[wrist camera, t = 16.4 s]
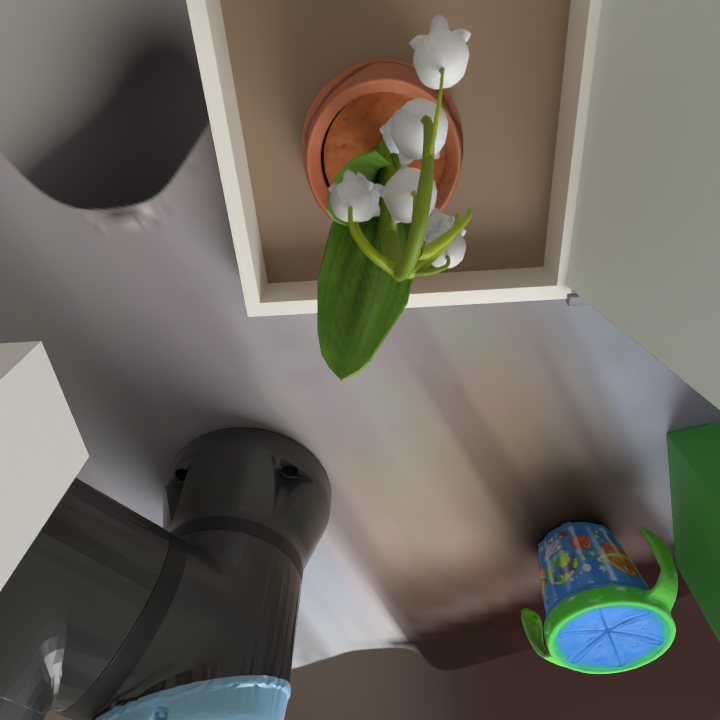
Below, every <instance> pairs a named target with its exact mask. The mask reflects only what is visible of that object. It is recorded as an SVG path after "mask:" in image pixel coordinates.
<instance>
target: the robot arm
mask: <svg viewBox="0 0 720 720" xmlns="http://www.w3.org/2000/svg"><path fill="white" fill-rule="evenodd" d="M88 457H89V455H88V452H87V450H86V447H85V445H84V443H83V440H82V438H81V435H80V433H79V430H78V428H77V426H76V423H75V421H74V418H73V416H72V414H71V411H70V409H69V406H68V404H67V402H66V399H65V397H64V394H63V392H62V390H61V387H60V385H59V382H58V380H57V378H56V375H55V373H54V370H53V368H52V366H51V363H50V361H49V358H48V356H47V353H46V351H45V349H44V346H43V344H42V341H34V342H17V343H1V344H0V720H43V719H44V717H45V716H46V714H47V713H48V712H49V711H52V712H55V713H57V714H60V715H62V716H64V717H67V718H69V719H72V720H284V715H285V711H286V706H287V701H288V699H289V697H290V694H291V687H290V676H291V668H292V659H293V650H294V642H295V634H296V626H297V618H298V609H299V601H300V593H301V583H302V576H303V570H304V568H305V566H306V564H307V563H308V561H309V559H310V557H311V555H312V553H313V551H314V550H315V548H316V546H317V544H318V542H319V540H320V538H321V537H322V535H323V533H324V531H325V529H326V526H327V523H328V520H329V515H330V506H331V486H330V482H329V479H328V476H327V474H326V472H325V470H324V468H323V467H322V465H321V464H320V463H319V461H318V460H317V459H316V458H315V457H314V456H313V455H312V454H311V453H310V452H309V451H308V450H306V449H305V448H304V447H302V446H301V445H299V444H298V443H296V442H294V441H292V440H290V439H288V438H286V437H284V436H281V435H279V434H276V433H273V432H269V431H265V430H259V429H252V428H230V429H223V430H218V431H214V432H211V433H208V434H206V435H203V436H201V437H199V438H197V439H196V440H194V441H192V442H191V443H190V444H188V445H187V446H186V447H185V448H184V449H183V450H182V451H181V452H180V454H179V455H178V456H177V458H176V460H175V462H174V464H173V466H172V468H171V470H170V473H169V475H168V477H167V480H166V483H165V487H164V493H163V528H162V527H160V526H158V525H157V524H155V523H153V522H151V521H150V520H148V519H146V518H145V517H143V516H141V515H139V514H138V513H136V512H134V511H133V510H131V509H129V508H127V507H126V506H124V505H122V504H120V503H119V502H117V501H115V500H114V499H112V498H110V497H108V496H107V495H105V494H103V493H102V492H100V491H98V490H96V489H95V488H93V487H91V486H90V485H88V484H86V483H84V482H83V481H81V480H79V479H78V478H76V476H77V474H78V473H79V471H80V470H81V468H82V467H83V465H84V464H85V462H86V461H87V459H88Z"/></svg>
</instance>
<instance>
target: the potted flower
mask: <svg viewBox="0 0 720 720" xmlns="http://www.w3.org/2000/svg"><path fill="white" fill-rule="evenodd" d="M470 35H471V33H470V32H469V31H467V30H466V29H462V28H460V29H457V30H454V31H453V32H452V31H450V28H449V25H448V22H447V20H446V18H445V17H444V16H442V15H440V14H438V15H437V16H436V17H434V18H433V20H432V22H431V26H430V31H429V34H428V35H418V36H416V37H414V38H413V39H412V40H411V42H410V45H411V47H412V48H413V49H414V50H415V52H414V55H413V64H411V63H409V62H405V61H401V60H397V59H383V58H381V59H373V60H367V61H363V62H360V63H357V64H354V65H352V66H350V67H348V68H346V69H344V70H342V71H341V72H339V73H338V74H337V75H335V76H334V77H333V78H331V79H330V80H329V81H328V82H327V83H326V84H325V85H324V86H323V87H322V89H321V90H320V91H319V93H318V94H317V96H316V97H315V99H314V100H313V102H312V104H311V106H310V108H309V111H308V113H307V116H306V119H305V122H304V126H303V132H302V159H303V165H304V170H305V174H306V177H307V180H308V183H309V186H310V189H311V191H312V194H313V196H314V198H315V200H316V202H317V203H318V205H319V206H320V207H321V209H322V210H323V212H324V213H325V214H326V215H327V216H328V217H329V218H330V219H331V220H332V221H334V222H333V223H332V224H331V228H330V232H329V236H328V240H327V243H326V247H325V251H324V255H323V259H322V262H321V266H320V270H319V274H318V278H317V308H318V337H319V343H320V348H321V354H322V356H323V358H324V359H325V361H326V363H327V364H328V366H329V368H330V369H331V370H332V371H333V372H334V373H335V374H336V375H337V376H338V377H339V378H340V379H341V380H344V379H346V378H348V377H350V376H352V375H354V374H357V373H359V372H360V371H361V370H362V369H363V368H364V367H365V366H366V365H367V364H368V363H369V362H370V361H371V359H372V358H373V356H374V354H375V353H376V351H377V349H378V348H379V346H380V345H381V343H382V342H383V340H384V339H385V337H386V336H387V334H388V332H389V331H390V329H391V328H392V326H393V325H394V323H395V322H396V320H397V319H398V317H399V316H400V314H401V313H402V311H403V310H404V308H405V307H406V305H407V304H408V299H409V295H410V290H411V286H412V282H413V278H414V277H416V276H427V275H433V274H436V273H439V272H441V271H443V270H445V269H447V268H453V267H455V266H456V265H458V264H459V263H460V262H461V261H462V260H463V257H464V254H465V251H466V242H465V240H464V238H463V236H464V235H465V233H466V230H465V229H463V228H464V227H465V226H466V224H467V223H468V222H469V220H470V219H471V216H472V213H473V212H472V210H471V209H470V208H468V210H467V214H466V216H465V217H464V218H463V219H462V220H460V218H459V213H456V214H455V217H453V216H448V215H446V214H444V213H441V211H442V210H443V209H444V208H445V206H446V205H447V203H448V202H449V200H450V199H451V197H452V195H453V193H454V191H455V189H456V186H457V183H458V180H459V176H460V171H461V166H462V159H463V131H462V124H461V120H460V117H459V114H458V110H457V108H456V106H455V104H454V102H453V100H452V98H451V96H450V95H449V93H448V92H447V91H446V89H445V88H449V87H452V86H453V85H455V84H456V83H458V82H459V81H460V80H461V78H462V77H463V76H464V74H465V70H466V67H467V63H468V59H469V50H468V46H467V44H466V42H467V41H468V40H469V38H470ZM424 240H425V241H426V243H425V246H423V241H424ZM420 252H421V255H420ZM431 264H432V265H433V266H434V267H437V268H431V269H426V268H427V267H429V266H430V265H431Z"/></svg>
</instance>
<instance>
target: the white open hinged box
mask: <svg viewBox="0 0 720 720" xmlns="http://www.w3.org/2000/svg"><path fill="white" fill-rule="evenodd" d="M186 2H187V8H188V13H189V18H190V23H191V28H192V33H193V38H194V43H195V48H196V54H197V59H198V64H199V69H200V73H201V79H202V84H203V89H204V95H205V99H206V104H207V110H208V115H209V120H210V125H211V130H212V135H213V140H214V146H215V151H216V156H217V161H218V166H219V171H220V176H221V181H222V186H223V192H224V197H225V202H226V207H227V212H228V217H229V222H230V227H231V232H232V238H233V243H234V248H235V253H236V258H237V263H238V268H239V273H240V278H241V284H242V289H243V294H244V299H245V304H246V309H247V314H248V317H255V316H273V315H290V314H308V313H318V308H317V278H318V274H319V270H320V266H321V262H322V259H323V255H324V251H325V247H326V243H327V240H328V236H329V232H330V228H331V224H332V223H333V222H334V221H332V220H331V219H330V218H329V217H328V216H327V215H326V214H325V213H324V212H323V210H322V209H321V207H320V206H319V205H318V203H317V202H316V200H315V198H314V196H313V194H312V191H311V189H310V186H309V183H308V180H307V177H306V174H305V170H304V165H303V159H302V132H303V126H304V122H305V119H306V116H307V113H308V111H309V108H310V106H311V104H312V102H313V100H314V99H315V97H316V96H317V94H318V93H319V91H320V90H321V89H322V87H323V86H324V85H325V84H326V83H327V82H328V81H329V80H330V79H331V78H333V77H334V76H335V75H337V74H338V73H339V72H341V71H342V70H344V69H346V68H348V67H350V66H352V65H354V64H357V63H360V62H363V61H367V60H373V59H381V58H383V59H397V60H401V61H405V62H409V63H411V64H413V55H414V52H415V50H414V49H413V48H412V47H411V45H410V42H411V40H412V39H413V38H414V37H416V36H418V35H428V34H429V31H430V26H431V22H432V20H433V18H434V17H436V16H437V15H438V14H440V15H442V16H444V17H445V18H446V20H447V22H448V25H449V28H450V31H452V32H453V31H454V30H457V29H460V28H462V29H466V30H467V31H469V32H470V33H471V35H470V38H469V40H468V41H467V42H466V44H467V46H468V50H469V59H468V63H467V67H466V70H465V74H464V76H463V77H462V78H461V80H460V81H459V82H458V83H456V84H455V85H453V86H452V87H449V88H445V89H446V91H447V92H448V93H449V95H450V96H451V98H452V100H453V102H454V104H455V106H456V108H457V110H458V114H459V117H460V120H461V124H462V131H463V159H462V166H461V171H460V176H459V180H458V183H457V186H456V189H455V191H454V193H453V195H452V197H451V199H450V200H449V202H448V203H447V205H446V206H445V208H444V209H443V210H442V211H441V213H444V214H446V215H448V216H453V217H455V214H456V213H459V218H460V220H462V219H463V218H464V217H465V216H466V214H467V210H468V208H470V209H471V210H472V212H473V213H472V216H471V219H470V220H469V222H468V223H467V224H466V226H465V227H464V228H463V229H465V230H466V233H465V235H464V236H463V238H464V240H465V242H466V251H465V254H464V257H463V260H462V261H461V262H460V263H459V264H458V265H456V266H455V267H453V268H447V269H445V270H443V271H441V272H439V273H436V274H433V275H427V276H416V277H414V278H413V282H412V286H411V290H410V295H409V299H408V304H407V305H406V307H405V308H413V307H430V306H448V305H465V304H483V303H500V302H518V301H535V300H553V299H566V302H567V304H568V305H569V306H575V305H591V306H592V307H594V308H595V309H596V310H597V311H598V312H600V313H601V314H602V315H603V316H605V317H606V318H607V319H608V320H610V321H611V322H612V323H613V324H614V325H616V326H617V327H618V328H619V329H621V330H622V331H623V332H624V333H626V334H627V335H628V336H629V337H630V338H632V339H633V340H634V341H635V342H637V343H638V344H639V345H640V346H642V347H643V348H644V349H645V350H646V351H648V352H649V353H650V354H651V355H653V356H654V357H655V358H656V359H658V360H659V361H660V362H661V363H662V364H664V365H665V366H666V367H667V368H669V369H670V370H671V371H672V372H673V373H675V374H676V375H677V376H678V377H680V378H681V379H682V380H683V381H685V382H686V383H687V384H688V385H689V386H691V387H692V388H693V389H694V390H696V391H697V392H698V393H699V394H701V395H702V396H703V397H704V398H705V399H707V400H708V401H709V402H710V403H712V404H713V405H714V406H715V407H717V408H718V409H719V410H720V0H186ZM425 243H426V241H425V240H424V241H423V246H425ZM420 255H421V252H420ZM431 268H437V267H434V266H433V265H432V264H431V265H430V266H429V267H427V268H426V269H431ZM571 290H573V291H574V292H575V293H571Z"/></svg>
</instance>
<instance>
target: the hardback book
mask: <svg viewBox="0 0 720 720" xmlns="http://www.w3.org/2000/svg"><path fill="white" fill-rule="evenodd" d="M667 444H668V459H669V474H670V488H671V503H672V518H673V532H674V547H675V562H676V565H677V567H678V569H679V571H680V572H681V574H682V576H683V578H684V580H685V581H686V583H687V585H688V587H689V588H690V590H691V592H692V594H693V595H694V597H695V599H696V600H697V603H698V604H699V606H700V608H701V609H702V611H703V613H704V615H705V617H706V618H707V620H708V622H709V624H710V626H711V627H712V629H713V631H714V633H715V635H716V636H717V638H718V640H719V641H720V421H719V422H714V423H710V424H706V425H701V426H697V427H692V428H688V429H684V430H679V431H675V432H671V433H667Z"/></svg>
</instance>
